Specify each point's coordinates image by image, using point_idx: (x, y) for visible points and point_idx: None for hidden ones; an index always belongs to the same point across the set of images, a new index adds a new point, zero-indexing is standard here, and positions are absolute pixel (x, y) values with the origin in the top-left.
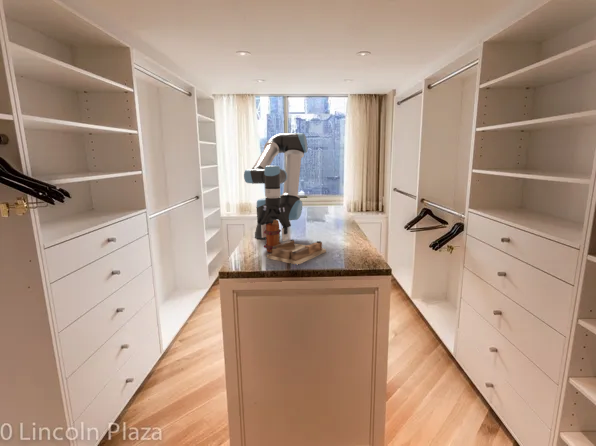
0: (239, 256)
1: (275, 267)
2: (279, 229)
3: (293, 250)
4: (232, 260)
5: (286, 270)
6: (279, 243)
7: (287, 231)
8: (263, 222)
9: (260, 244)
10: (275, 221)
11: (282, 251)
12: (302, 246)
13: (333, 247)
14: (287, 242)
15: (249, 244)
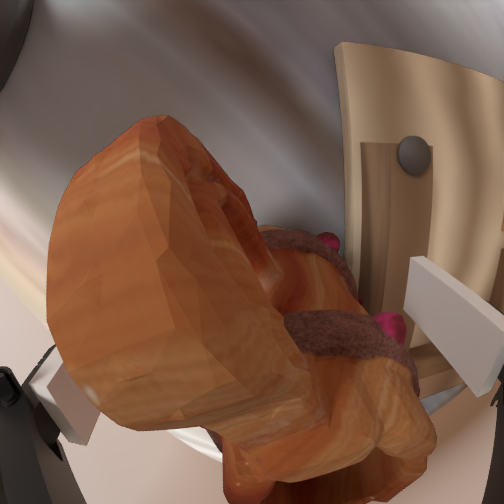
0: (192, 428)
1: (426, 401)
2: (410, 365)
3: (434, 223)
4: (221, 457)
5: (465, 386)
6: (344, 279)
7: (500, 311)
8: (60, 460)
9: (51, 208)
10: (226, 412)
11: (452, 383)
12: (429, 95)
13: (489, 3)
14: (416, 244)
15: (16, 260)
